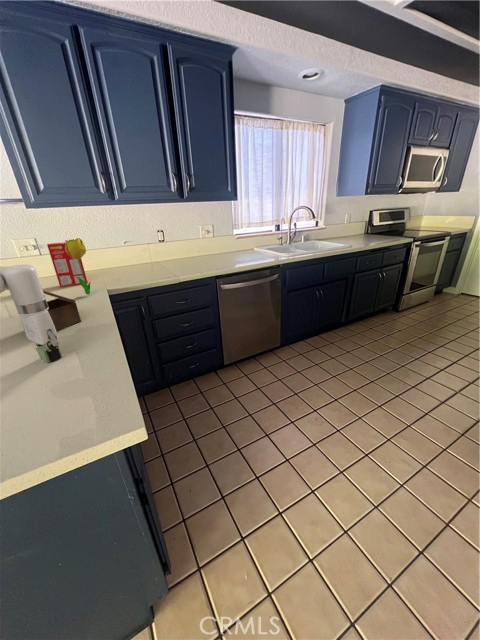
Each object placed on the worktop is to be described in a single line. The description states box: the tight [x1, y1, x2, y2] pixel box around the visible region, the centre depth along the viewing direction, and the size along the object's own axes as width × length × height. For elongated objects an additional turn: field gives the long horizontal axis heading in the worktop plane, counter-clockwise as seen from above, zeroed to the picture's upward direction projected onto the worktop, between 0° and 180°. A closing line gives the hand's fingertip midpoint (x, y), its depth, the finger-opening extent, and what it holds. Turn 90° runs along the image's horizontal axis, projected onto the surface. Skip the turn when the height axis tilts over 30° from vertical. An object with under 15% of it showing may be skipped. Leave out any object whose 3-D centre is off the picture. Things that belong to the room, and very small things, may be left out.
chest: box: [46, 297, 82, 332], centre depth 108 cm, size 16×13×9 cm
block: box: [35, 342, 63, 363], centre depth 86 cm, size 4×4×4 cm
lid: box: [43, 290, 76, 303], centre depth 105 cm, size 16×13×1 cm
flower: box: [64, 237, 92, 296], centre depth 139 cm, size 9×8×30 cm
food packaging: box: [46, 241, 89, 288], centre depth 159 cm, size 15×5×25 cm, turn 122°
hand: (51, 357), depth 87 cm, fingers closed on block, 4 cm apart
